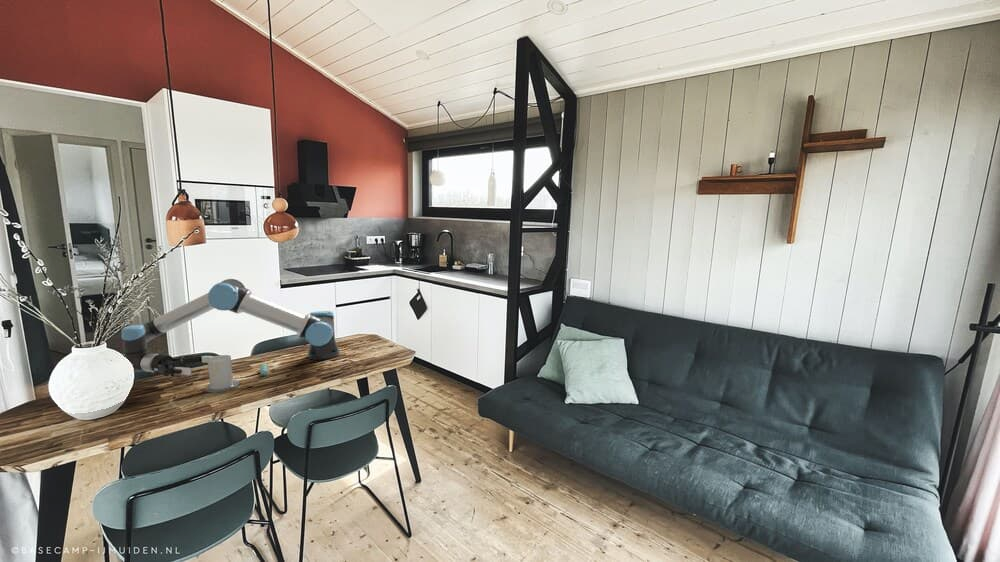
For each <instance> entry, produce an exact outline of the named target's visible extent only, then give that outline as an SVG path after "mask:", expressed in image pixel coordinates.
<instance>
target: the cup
mask: <svg viewBox="0 0 1000 562" xmlns="http://www.w3.org/2000/svg"><path fill="white" fill-rule="evenodd" d="M207 361H208V363H207V369H208V377H209V379H208V380H209V385H210V388H211V389H214V390H217V389H224V388H228V387H230V386H232V385H233V380H234V376H233V375H234V374H233V366H232V356H231V355H228V354H222V355H216V356H215V355H214V356H213V357H211V358H209V359H208V360H207Z"/></svg>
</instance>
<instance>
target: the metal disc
mask: <svg viewBox="0 0 1000 562" xmlns="http://www.w3.org/2000/svg"><path fill="white" fill-rule="evenodd" d="M238 386H240V381H239V380H236V379H233V385H232V386H230V387H228V388H224V389H217V390H214V389H211V388H210V384H208V385H207V386H205V387H204V391H205V392H206V391H207V392H206V393H209V392H212V393H211V394H217V393H216V392H219V393H224V392H228V391H230V389H231V390H234V389H235V387H236V388H237V387H238ZM233 388H234V389H233ZM227 390H228V391H227ZM223 391H224V392H223ZM214 392H215V393H214Z"/></svg>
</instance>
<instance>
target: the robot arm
mask: <svg viewBox="0 0 1000 562" xmlns="http://www.w3.org/2000/svg"><path fill="white" fill-rule="evenodd" d="M214 309H216V310H217V311H229V312H232V313H235V314H241V313H245V314H248V315H250V316H253V317H255V318H257V319H260V320H263V321H266V322H268V323H271V324H274V325H276V326H280V327H282V328H284V329H287V330H289V331H292V332H294V333H296V334H297V336H298V338H301V339H303V340H306V341H307V342H308V343H309V346H308V349H307V358H308V359H310V360H316V361H319V360H322V361H323V360H328V359H331V358H332V359H333V358H335V357H337V356H339V355H340V348H339V346H338V343H337V341H336V336H335V314H334V311H331V310H320V311H312V312H309V314H306V315H304V314H302V313H300V312H297V311H294V310H292V309H289V308H287V307H285V306H283V305H280V304H277V303H274V302H272V301H271V300H270V301H269V300H267V299H265V298H262V297H259V296H257V295H254V294H253V292H252V290H251V289H248V288H246V287H245V285H244V283H243V282H242V281H240V280H238V279H235V278H228V279H224V280H222V281H220V282H217V283H216V284H214V285H213V286H212V287H211V288H210V289H209V291H208V292H207V293H205V294H203V295H201V296H199V297H197V298H195V299H193V300H191V301H189V302H187V303H184V304H182V305H180V306H178V307H176V308H174V309H172V310H170V311H168V312H166V313H163V314H161V315H159V316H157V317H156V318H153V319H151V320H149V321H147V322H144V323H143V324H133V325H132V324H131V325H128V326H124V327H123V328H122V329H121V335H120V337H121V339H122V346H123V354H122V355H123V356H124V357H126V358H127V359H128V360H129V361H130V362H131V363H132V364H133V367H134V371H133V372H148V373H149V372H151V373H152V374H154V373H158V374H160V375H162V376H163V377H168V376H170V377H175V375H182V376H183V375H187V376H190V375H192V369H191V367H183V366H185V365H188V364H189V365H190V364H194V363H203V364H204V363H206V364H208V361H207V360H208V359H209V358H211V357H214V356H210V355H208V356H207V353H200V354H192V355H180V356H179V357H172V356H171V355H170V354H164V353H163V354H161V353H160V354H159V353H148V344H147V343H148V342H150V341H152V340H153V339H155V338H158V337H159V336H161V335H163V334H165V333H167V332H169V331H171V330H173V329H175V328H177V327H179V326H182V325H183V324H185V323H187V322H189V321H191V320H194V319H197V318H198V317H200V316H202V315H204V314H206V313H208V312H210V311H211V310H214Z"/></svg>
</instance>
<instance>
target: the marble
mask: <svg viewBox="0 0 1000 562" xmlns="http://www.w3.org/2000/svg"><path fill="white" fill-rule="evenodd" d="M268 373H269V371H268V370H267V369H262V370H261V371H260V375H262V376H266V375H267V374H268Z"/></svg>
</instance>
